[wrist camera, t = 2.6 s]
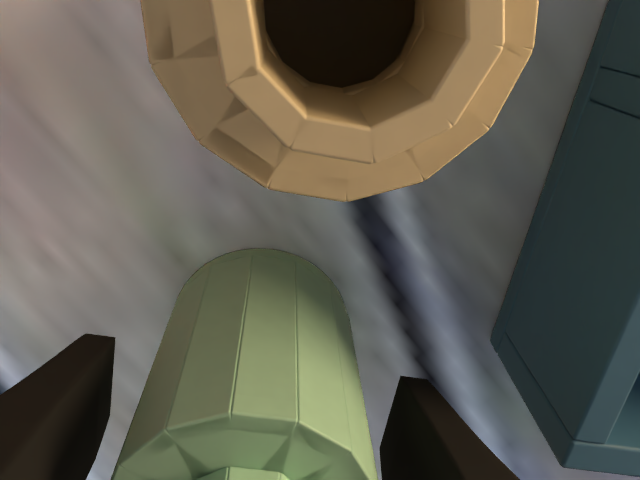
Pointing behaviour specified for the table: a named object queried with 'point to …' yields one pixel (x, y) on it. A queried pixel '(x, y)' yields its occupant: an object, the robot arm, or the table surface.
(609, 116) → the carrier
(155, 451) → the mint bottle
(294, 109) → the cream bottle
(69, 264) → the table surface
